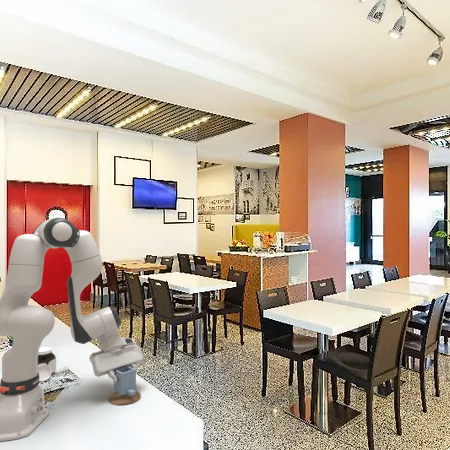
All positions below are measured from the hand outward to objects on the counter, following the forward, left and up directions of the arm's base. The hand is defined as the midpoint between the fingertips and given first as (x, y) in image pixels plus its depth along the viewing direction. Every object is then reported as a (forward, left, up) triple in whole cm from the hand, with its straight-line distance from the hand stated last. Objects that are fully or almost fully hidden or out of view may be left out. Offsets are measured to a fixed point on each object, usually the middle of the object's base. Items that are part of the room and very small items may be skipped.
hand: (125, 378), depth 147 cm
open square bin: (-1, 0, -5) cm, 5 cm away
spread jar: (+28, +37, -8) cm, 47 cm away
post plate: (0, 0, -7) cm, 8 cm away
